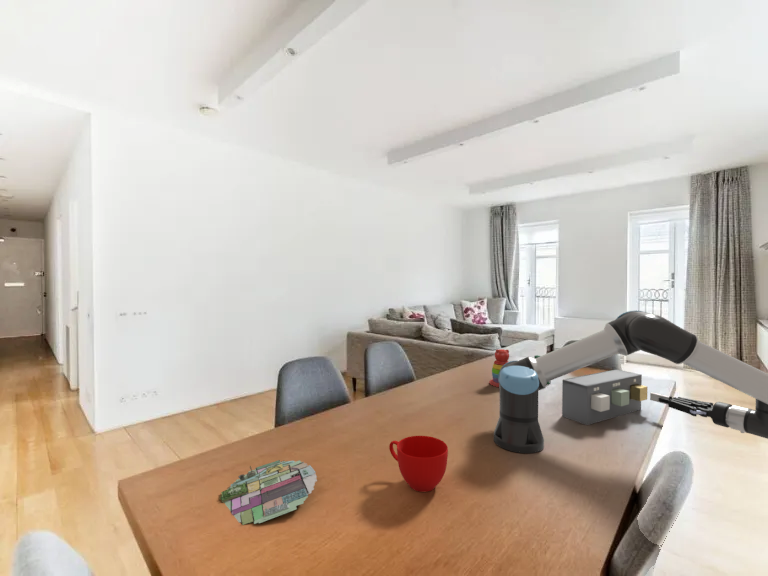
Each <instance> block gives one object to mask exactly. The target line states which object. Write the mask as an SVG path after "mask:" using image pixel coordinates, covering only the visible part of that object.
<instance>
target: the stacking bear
mask: <svg viewBox="0 0 768 576" xmlns="http://www.w3.org/2000/svg"><path fill="white" fill-rule="evenodd" d="M509 353H510V351H509V349H502V348H500V349H495V352H494V357H495V360H494V361H493V364H492V369H491V376H492V379H490V380H489V384H490V385H491V386H492V385H493V386H492V387H495V386H496V388H498V387H499V380H498V375H499V372H500V370H501V368H502V367H503V365H505V364H506V363H508V362H509V359H510V354H509Z"/></svg>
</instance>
